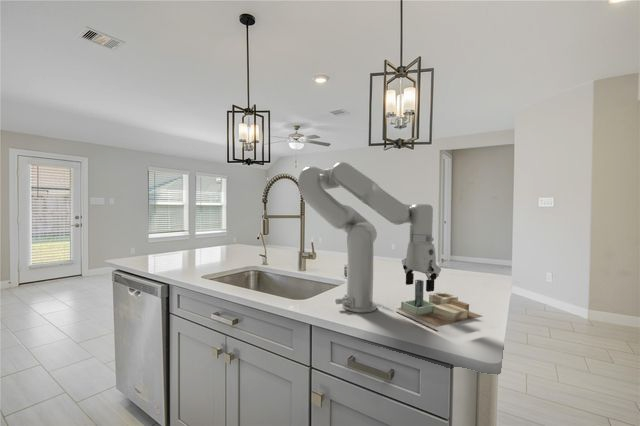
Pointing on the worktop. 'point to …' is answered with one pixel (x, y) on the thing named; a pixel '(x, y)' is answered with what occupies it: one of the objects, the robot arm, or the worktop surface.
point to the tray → (411, 308)
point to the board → (440, 320)
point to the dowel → (419, 293)
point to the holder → (441, 298)
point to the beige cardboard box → (450, 312)
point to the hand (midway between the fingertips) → (419, 287)
